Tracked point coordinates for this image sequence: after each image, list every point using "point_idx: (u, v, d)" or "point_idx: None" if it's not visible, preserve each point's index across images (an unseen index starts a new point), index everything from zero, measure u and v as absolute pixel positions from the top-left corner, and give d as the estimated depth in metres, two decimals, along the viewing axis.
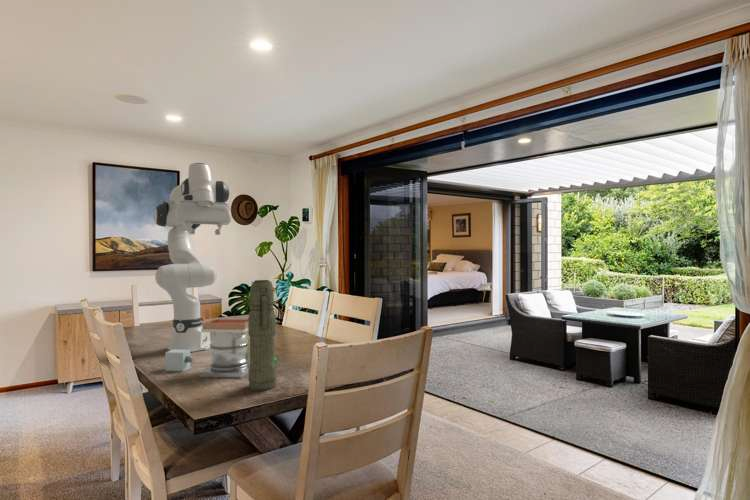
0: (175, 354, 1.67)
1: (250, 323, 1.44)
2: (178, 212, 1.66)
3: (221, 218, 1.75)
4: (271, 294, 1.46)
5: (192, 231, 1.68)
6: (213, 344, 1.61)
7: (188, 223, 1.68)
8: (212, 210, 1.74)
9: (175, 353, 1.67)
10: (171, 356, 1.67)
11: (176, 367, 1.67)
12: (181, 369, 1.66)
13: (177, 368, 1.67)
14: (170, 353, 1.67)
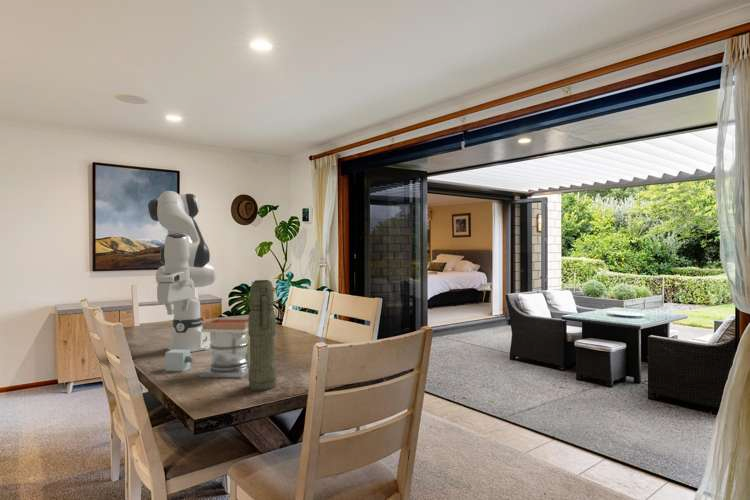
0: (175, 354, 1.67)
1: (250, 323, 1.44)
2: (168, 295, 1.59)
3: (190, 295, 1.75)
4: (271, 294, 1.46)
5: (172, 312, 1.64)
6: (213, 344, 1.61)
7: (171, 304, 1.63)
8: (185, 287, 1.72)
9: (175, 353, 1.67)
10: (171, 356, 1.67)
11: (176, 367, 1.67)
12: (181, 369, 1.66)
13: (177, 368, 1.67)
14: (170, 353, 1.67)
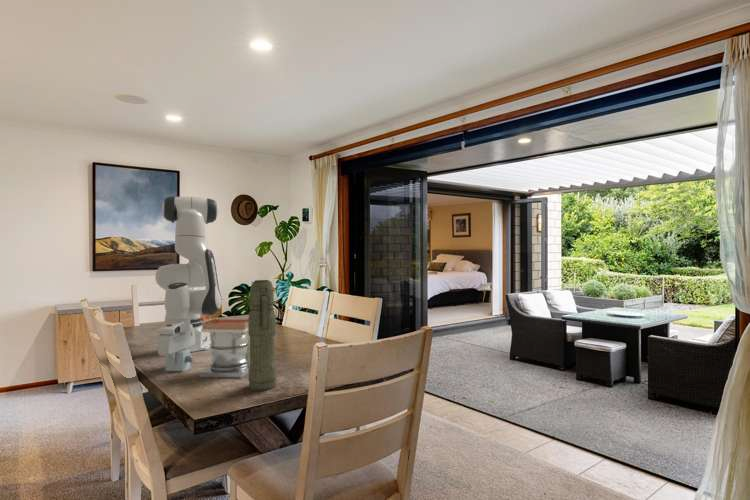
0: (175, 353, 1.67)
1: (250, 323, 1.44)
2: (168, 347, 1.60)
3: (191, 342, 1.75)
4: (271, 294, 1.46)
5: (175, 362, 1.66)
6: (213, 344, 1.61)
7: (173, 355, 1.65)
8: (185, 336, 1.72)
9: (175, 353, 1.67)
10: None
11: (176, 367, 1.67)
12: (181, 369, 1.66)
13: (177, 367, 1.67)
14: None
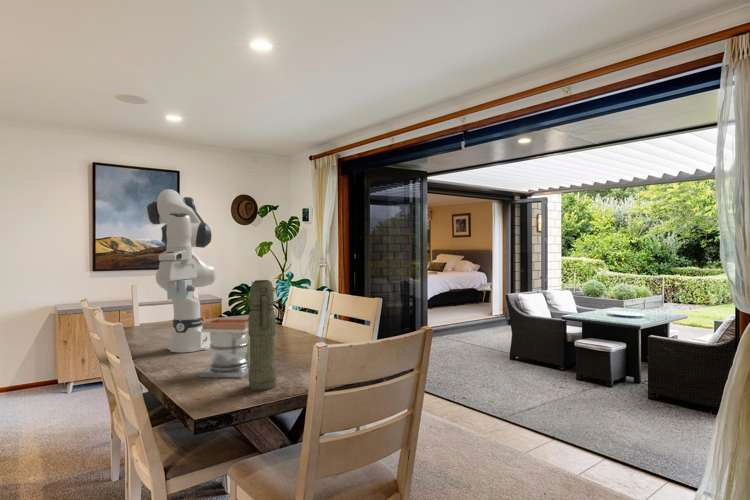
0: (177, 282, 1.66)
1: (250, 323, 1.44)
2: (170, 273, 1.59)
3: (192, 275, 1.75)
4: (271, 294, 1.46)
5: (177, 291, 1.66)
6: (213, 344, 1.61)
7: (175, 282, 1.64)
8: (187, 266, 1.72)
9: (177, 281, 1.66)
10: None
11: (178, 296, 1.66)
12: (183, 297, 1.66)
13: (179, 296, 1.66)
14: None
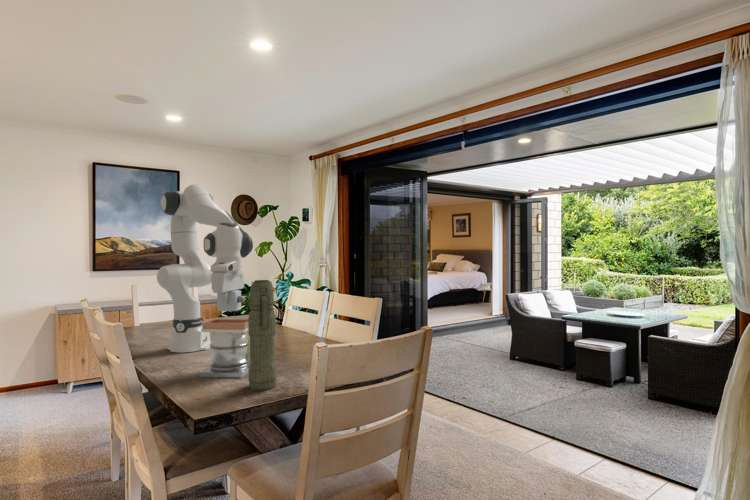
0: None
1: (250, 323, 1.44)
2: (222, 284, 1.56)
3: (240, 285, 1.72)
4: (271, 294, 1.46)
5: (227, 302, 1.63)
6: (213, 344, 1.61)
7: (226, 294, 1.61)
8: (236, 277, 1.69)
9: None
10: None
11: (228, 307, 1.63)
12: (233, 309, 1.63)
13: (229, 307, 1.63)
14: None
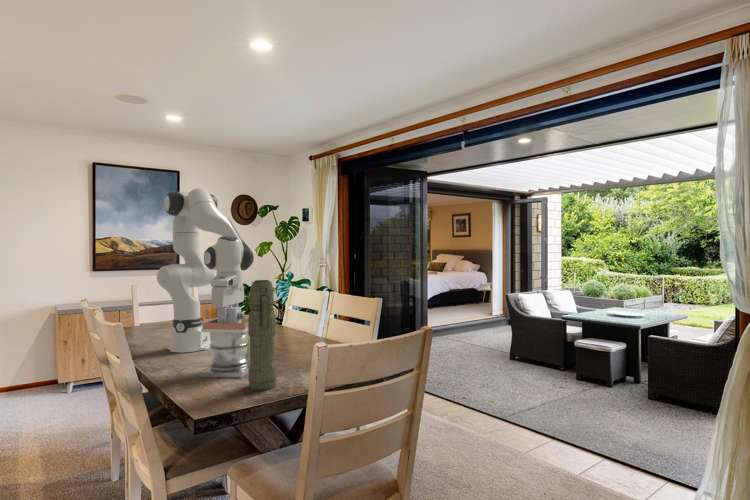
0: (227, 310, 1.63)
1: (250, 323, 1.44)
2: (223, 299, 1.56)
3: (240, 298, 1.72)
4: (271, 294, 1.46)
5: (226, 317, 1.62)
6: (213, 344, 1.61)
7: (225, 308, 1.60)
8: (236, 291, 1.69)
9: (227, 309, 1.63)
10: None
11: None
12: None
13: None
14: None
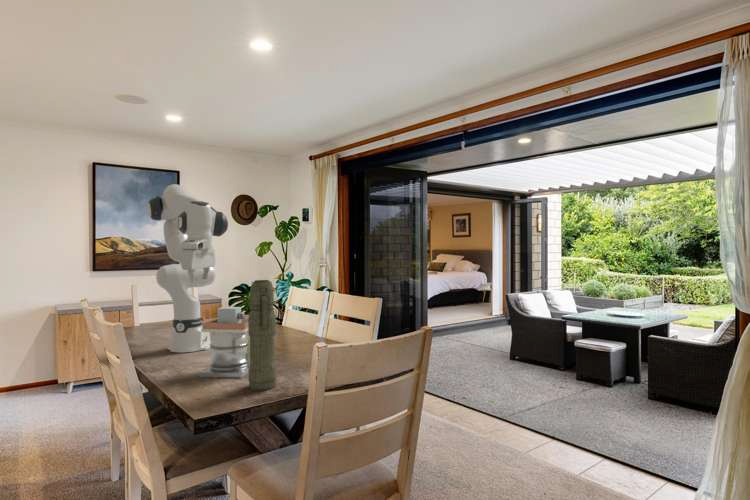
0: (227, 310, 1.63)
1: (250, 323, 1.44)
2: (192, 261, 1.59)
3: (211, 263, 1.75)
4: (271, 294, 1.46)
5: (195, 280, 1.64)
6: (213, 344, 1.61)
7: (194, 271, 1.63)
8: (207, 255, 1.72)
9: (227, 309, 1.63)
10: (223, 312, 1.64)
11: None
12: None
13: None
14: (222, 309, 1.64)
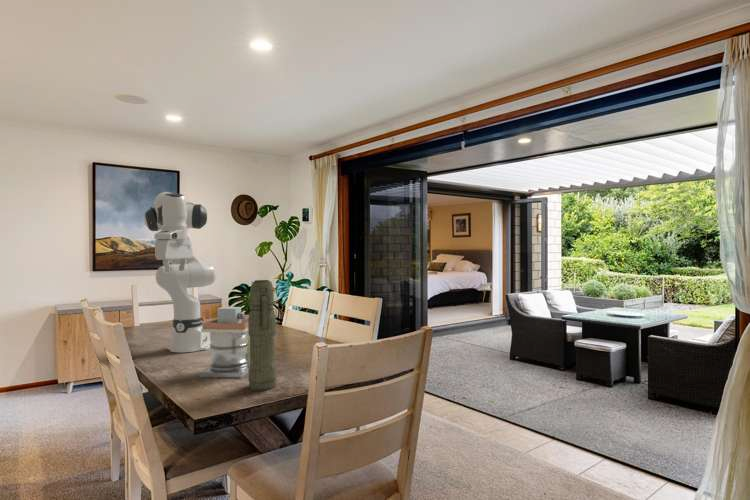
0: (227, 310, 1.63)
1: (250, 323, 1.44)
2: (165, 251, 1.62)
3: (188, 255, 1.77)
4: (271, 294, 1.46)
5: (170, 270, 1.66)
6: (213, 344, 1.61)
7: (168, 261, 1.65)
8: (183, 246, 1.74)
9: (227, 309, 1.63)
10: (223, 312, 1.64)
11: None
12: None
13: None
14: (222, 309, 1.64)
